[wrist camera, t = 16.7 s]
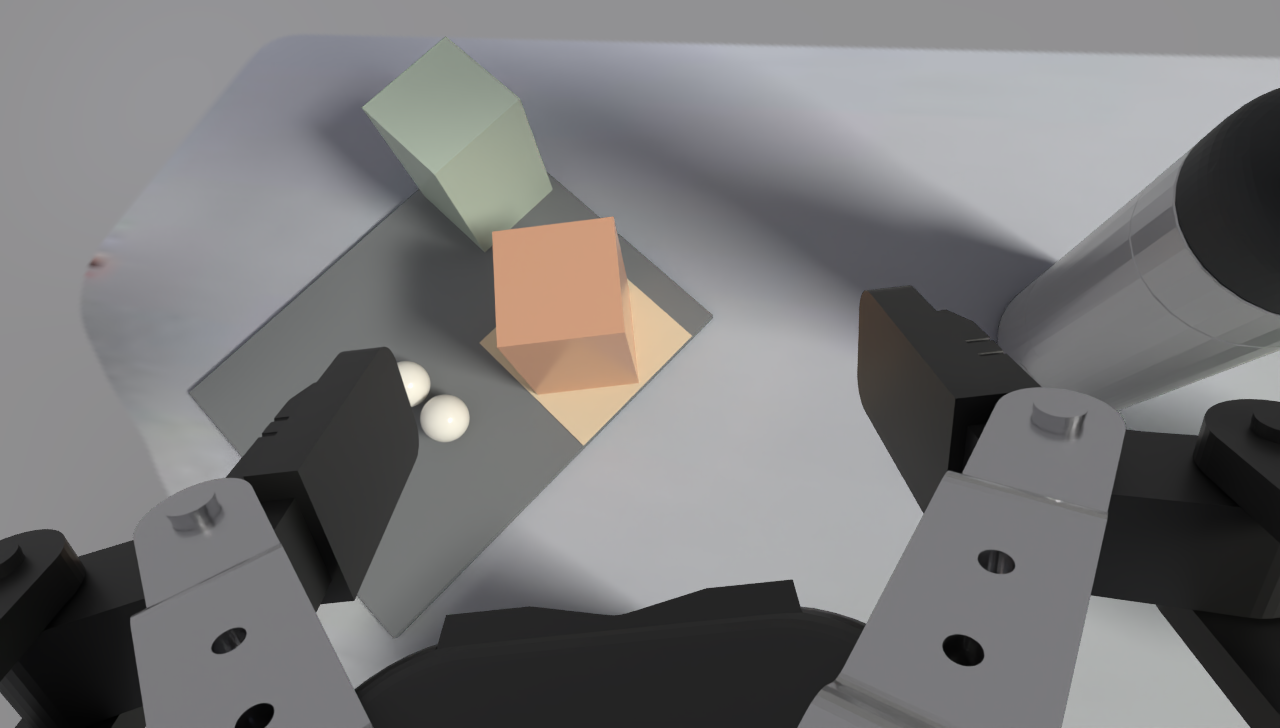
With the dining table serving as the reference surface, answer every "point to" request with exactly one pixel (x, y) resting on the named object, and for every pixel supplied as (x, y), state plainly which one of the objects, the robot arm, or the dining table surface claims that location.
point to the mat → (443, 384)
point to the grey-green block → (462, 141)
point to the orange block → (564, 306)
